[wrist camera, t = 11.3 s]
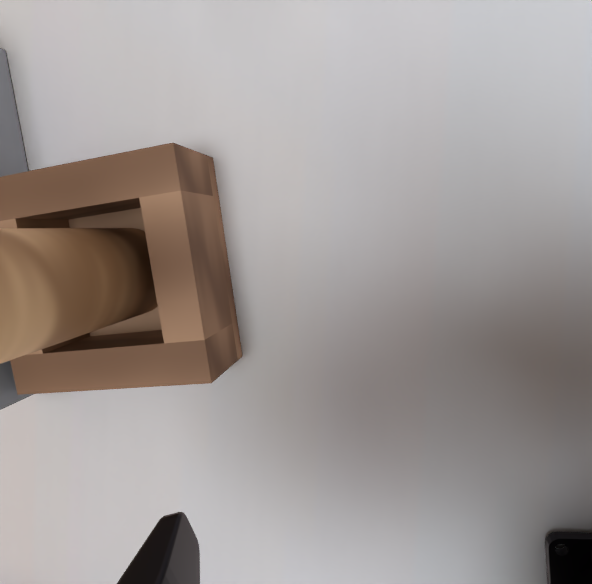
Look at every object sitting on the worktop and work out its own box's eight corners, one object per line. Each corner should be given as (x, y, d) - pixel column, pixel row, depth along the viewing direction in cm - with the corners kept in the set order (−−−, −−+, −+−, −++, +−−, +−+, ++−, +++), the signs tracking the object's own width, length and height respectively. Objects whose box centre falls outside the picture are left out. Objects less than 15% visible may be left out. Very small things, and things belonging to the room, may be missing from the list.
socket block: (245, 354, 21) (211, 383, 17) (80, 366, 23) (17, 394, 19) (215, 159, 20) (173, 142, 16) (46, 190, 22) (-28, 182, 18)
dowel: (188, 270, 20) (-258, 367, 6) (137, 331, 21) (-345, 529, 7) (126, 209, 20) (-436, 173, 6) (78, 273, 21) (-496, 356, 7)
